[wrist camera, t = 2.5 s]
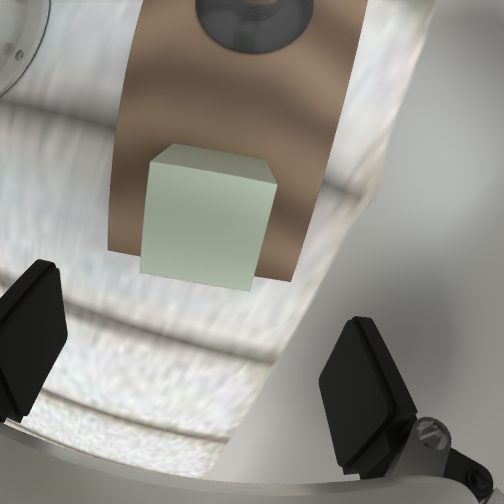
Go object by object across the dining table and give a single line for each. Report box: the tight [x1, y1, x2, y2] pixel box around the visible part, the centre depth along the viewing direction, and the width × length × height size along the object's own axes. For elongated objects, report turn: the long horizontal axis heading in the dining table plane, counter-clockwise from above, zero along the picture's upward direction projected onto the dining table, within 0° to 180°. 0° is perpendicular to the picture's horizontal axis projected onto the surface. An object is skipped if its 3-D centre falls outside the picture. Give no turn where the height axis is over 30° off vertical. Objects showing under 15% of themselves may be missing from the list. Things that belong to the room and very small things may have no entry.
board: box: [108, 0, 368, 282], centre depth 15 cm, size 24×14×10 cm, turn 167°
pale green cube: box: [140, 143, 278, 292], centre depth 18 cm, size 6×6×6 cm
